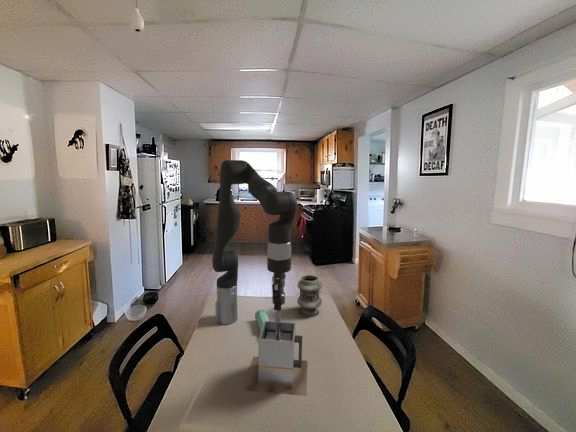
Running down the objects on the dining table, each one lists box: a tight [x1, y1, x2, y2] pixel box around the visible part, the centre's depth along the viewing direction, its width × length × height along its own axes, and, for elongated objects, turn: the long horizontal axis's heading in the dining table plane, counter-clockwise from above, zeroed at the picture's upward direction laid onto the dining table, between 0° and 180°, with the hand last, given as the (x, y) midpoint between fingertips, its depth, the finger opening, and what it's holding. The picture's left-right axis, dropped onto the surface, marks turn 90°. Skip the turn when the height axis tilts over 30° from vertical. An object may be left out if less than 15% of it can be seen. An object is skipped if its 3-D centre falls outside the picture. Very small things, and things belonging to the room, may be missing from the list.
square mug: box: [257, 320, 303, 388], centre depth 92 cm, size 14×11×16 cm
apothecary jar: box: [297, 274, 323, 318], centre depth 137 cm, size 12×12×18 cm
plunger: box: [266, 291, 292, 341], centre depth 90 cm, size 8×8×17 cm
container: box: [254, 309, 270, 333], centre depth 117 cm, size 6×6×25 cm
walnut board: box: [242, 355, 309, 397], centre depth 93 cm, size 20×16×1 cm
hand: (278, 306), depth 89 cm, fingers closed on plunger, 4 cm apart
